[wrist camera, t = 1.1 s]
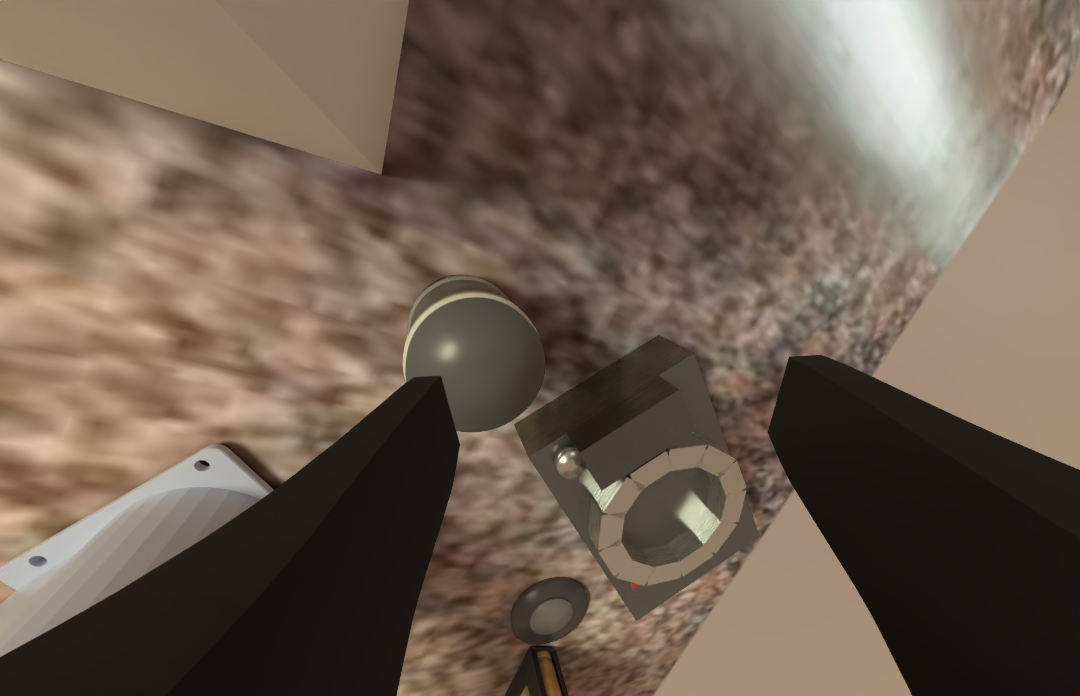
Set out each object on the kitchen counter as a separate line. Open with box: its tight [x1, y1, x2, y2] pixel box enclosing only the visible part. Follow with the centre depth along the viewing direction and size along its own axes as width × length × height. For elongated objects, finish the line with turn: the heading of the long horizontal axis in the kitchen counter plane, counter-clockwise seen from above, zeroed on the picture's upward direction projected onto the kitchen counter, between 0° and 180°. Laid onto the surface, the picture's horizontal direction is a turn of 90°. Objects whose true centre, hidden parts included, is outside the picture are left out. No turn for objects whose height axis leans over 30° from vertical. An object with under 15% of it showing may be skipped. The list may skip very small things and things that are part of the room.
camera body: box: [514, 335, 759, 621], centre depth 21 cm, size 9×14×5 cm, turn 27°
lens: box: [403, 275, 545, 432], centre depth 15 cm, size 5×5×6 cm
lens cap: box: [511, 577, 588, 645], centre depth 25 cm, size 5×5×1 cm
